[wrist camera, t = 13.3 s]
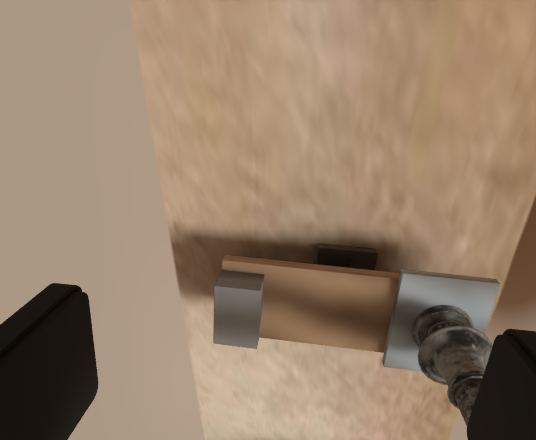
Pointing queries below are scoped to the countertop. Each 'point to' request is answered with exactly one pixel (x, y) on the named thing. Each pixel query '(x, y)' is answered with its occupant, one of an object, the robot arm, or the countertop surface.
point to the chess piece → (452, 353)
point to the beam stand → (346, 256)
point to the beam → (338, 305)
